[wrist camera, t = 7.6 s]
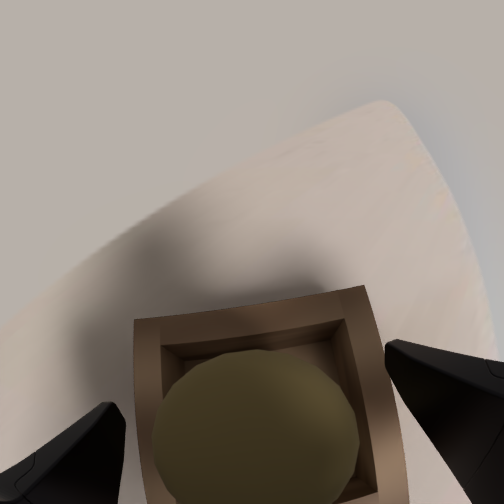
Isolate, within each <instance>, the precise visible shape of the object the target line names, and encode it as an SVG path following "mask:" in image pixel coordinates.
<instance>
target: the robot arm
mask: <svg viewBox="0 0 504 504" xmlns="http://www.w3.org/2000/svg"><path fill="white" fill-rule="evenodd" d="M384 364H385V368H386V371H387V372H388V374H389V376H390V378H391V380H392V381H393V383H394V385H395V387H396V389H397V391H398V392H399V394H400V396H401V398H402V400H403V401H404V403H405V405H406V406H407V408H408V409H409V410H410V412H411V413H412V415H413V416H414V417H415V419H416V420H417V422H418V423H419V425H420V426H421V427H422V429H423V430H424V432H425V433H426V435H427V436H428V437H429V439H430V440H431V442H432V443H433V445H434V446H435V448H436V449H437V451H438V452H439V454H440V455H441V456H442V458H443V459H444V461H445V462H446V464H447V465H448V467H449V468H450V470H451V471H452V473H453V474H454V476H455V477H456V479H457V481H458V482H459V484H460V485H461V487H462V488H463V490H464V492H465V493H466V495H467V496H468V498H469V500H470V501H471V503H472V504H504V362H499V361H494V360H489V359H483V358H478V357H473V356H469V355H464V354H459V353H455V352H450V351H445V350H441V349H437V348H432V347H428V346H424V345H420V344H415V343H411V342H407V341H403V340H399V339H395V340H392V341H390V342H387V343H386V345H385V359H384ZM125 432H126V422H125V419H124V417H123V415H122V414H121V412H120V411H119V409H118V407H117V406H116V404H115V403H114V402H102V403H101V404H99V405H98V406H97V407H95V408H94V409H93V410H91V411H90V412H89V413H87V414H86V415H85V416H83V417H82V418H81V419H79V420H78V421H77V422H75V423H74V424H73V425H71V426H70V427H69V428H67V429H66V430H64V431H63V432H62V433H60V434H59V435H58V436H56V437H55V438H53V439H52V440H51V441H49V442H48V443H46V444H45V445H44V446H42V447H41V448H39V449H38V450H37V451H36V452H34V453H32V454H31V455H30V456H28V457H27V458H25V459H24V460H22V461H21V462H19V463H17V464H16V465H14V466H12V467H11V468H9V469H7V470H5V471H4V472H2V473H0V504H118V496H119V489H120V482H121V475H122V469H123V462H124V448H125Z"/></svg>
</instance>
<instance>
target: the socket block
mask: <svg viewBox="0 0 504 504" xmlns="http://www.w3.org/2000/svg"><path fill="white" fill-rule="evenodd" d="M256 349H259V350H266V351H272V352H279V353H287V354H290V355H292V356H295V357H297V358H299V359H301V360H303V361H306V362H308V363H310V364H312V365H315V366H317V367H318V368H319V369H320V370H321V371H323V372H324V373H325V374H326V375H327V376H328V377H329V378H330V379H332V380H333V381H334V382H335V383H336V384H337V385H338V386H340V388H341V390H342V392H343V393H344V395H345V397H346V399H347V400H348V402H349V404H350V406H351V407H352V409H353V411H354V413H355V417H356V422H357V428H358V434H359V441H360V445H359V450H358V455H357V460H356V465H355V470H354V473H353V475H352V476H351V478H350V480H349V481H348V483H347V485H346V486H345V488H344V490H343V491H342V493H341V494H340V496H339V497H338V499H336V500H335V501H334V502H333V503H332V504H409V491H408V480H407V471H406V463H405V455H404V448H403V442H402V435H401V429H400V423H399V418H398V413H397V407H396V402H395V397H394V393H393V388H392V384H391V379H390V376H389V374H388V372H387V371H386V368H385V364H384V359H385V354H384V350H383V347H382V343H381V339H380V336H379V332H378V328H377V325H376V321H375V318H374V315H373V311H372V308H371V305H370V301H369V298H368V295H367V292H366V289H365V286H364V285H361V286H356V287H352V288H347V289H341V290H336V291H331V292H326V293H321V294H315V295H310V296H304V297H298V298H293V299H287V300H281V301H275V302H268V303H262V304H256V305H249V306H242V307H236V308H228V309H221V310H214V311H206V312H198V313H190V314H182V315H173V316H164V317H155V318H145V319H134V351H133V355H134V395H135V412H136V425H137V436H138V446H139V454H140V462H141V469H142V476H143V482H144V488H145V494H146V499H147V504H180V503H179V502H178V501H177V500H176V499H175V498H174V497H173V496H172V495H171V494H170V493H169V492H168V491H167V489H166V487H165V485H164V483H163V481H162V479H161V477H160V475H159V473H158V471H157V468H156V466H155V464H154V456H153V448H152V438H151V435H152V431H153V427H154V422H155V418H156V414H157V410H158V408H159V406H160V404H161V403H162V401H163V400H164V398H165V397H166V395H167V393H168V392H169V390H170V389H171V387H172V385H173V384H174V383H176V382H177V381H178V380H179V379H180V378H182V377H183V376H184V375H185V374H186V373H188V372H189V371H190V370H191V369H192V368H194V367H195V366H196V365H199V364H201V363H203V362H206V361H208V360H211V359H213V358H215V357H218V356H220V355H222V354H225V353H233V352H241V351H249V350H256Z"/></svg>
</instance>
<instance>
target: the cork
mask: <svg viewBox="0 0 504 504" xmlns="http://www.w3.org/2000/svg"><path fill="white" fill-rule="evenodd" d="M151 438H152V448H153V456H154V464H155V466H156V468H157V471H158V473H159V475H160V477H161V479H162V481H163V483H164V485H165V487H166V489H167V491H168V492H169V493H170V494H171V495H172V496H173V497H174V498H175V499H176V500H177V501H178V502H179V503H180V504H332V503H333V502H334V501H335V500H336V499H338V497H339V496H340V494H341V493H342V491H343V490H344V488H345V486H346V485H347V483H348V481H349V480H350V478H351V476H352V475H353V473H354V470H355V465H356V460H357V455H358V450H359V445H360V441H359V434H358V428H357V422H356V417H355V413H354V411H353V409H352V407H351V406H350V404H349V402H348V400H347V399H346V397H345V395H344V393H343V392H342V390H341V388H340V386H338V385H337V384H336V383H335V382H334V381H333V380H332V379H330V378H329V377H328V376H327V375H326V374H325V373H324V372H323V371H321V370H320V369H319V368H318V367H317V366H315V365H312V364H310V363H308V362H306V361H303V360H301V359H299V358H297V357H295V356H292V355H290V354H287V353H279V352H272V351H266V350H259V349H256V350H249V351H241V352H233V353H225V354H222V355H220V356H218V357H215V358H213V359H211V360H208V361H206V362H203V363H201V364H199V365H196V366H195V367H194V368H192V369H191V370H190V371H189V372H188V373H186V374H185V375H184V376H183V377H182V378H180V379H179V380H178V381H177V382H176V383H174V384H173V385H172V387H171V389H170V390H169V392H168V393H167V395H166V397H165V398H164V400H163V401H162V403H161V404H160V406H159V408H158V410H157V414H156V418H155V422H154V427H153V431H152V435H151Z"/></svg>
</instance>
